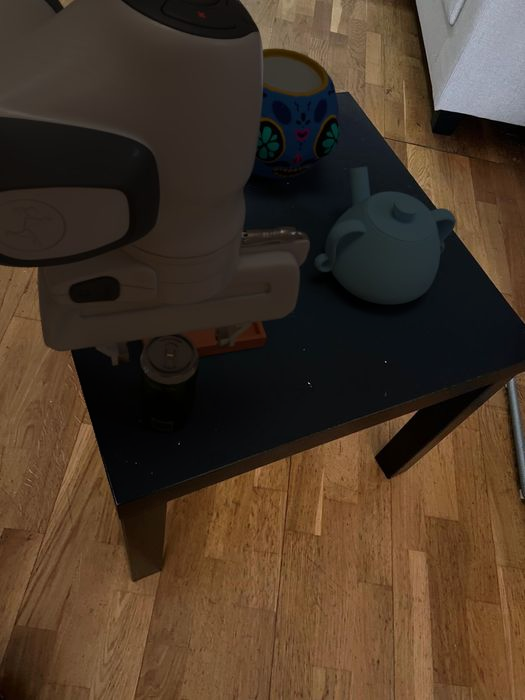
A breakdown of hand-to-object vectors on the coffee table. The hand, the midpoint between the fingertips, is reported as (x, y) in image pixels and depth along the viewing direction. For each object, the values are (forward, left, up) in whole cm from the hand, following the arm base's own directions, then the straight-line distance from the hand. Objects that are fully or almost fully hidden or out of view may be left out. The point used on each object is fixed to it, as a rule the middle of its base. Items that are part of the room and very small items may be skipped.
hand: (173, 349), depth 48 cm
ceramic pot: (+24, +40, -13) cm, 48 cm away
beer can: (0, 0, -13) cm, 13 cm away
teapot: (+32, +18, -13) cm, 39 cm away
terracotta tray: (+6, +12, -13) cm, 18 cm away
